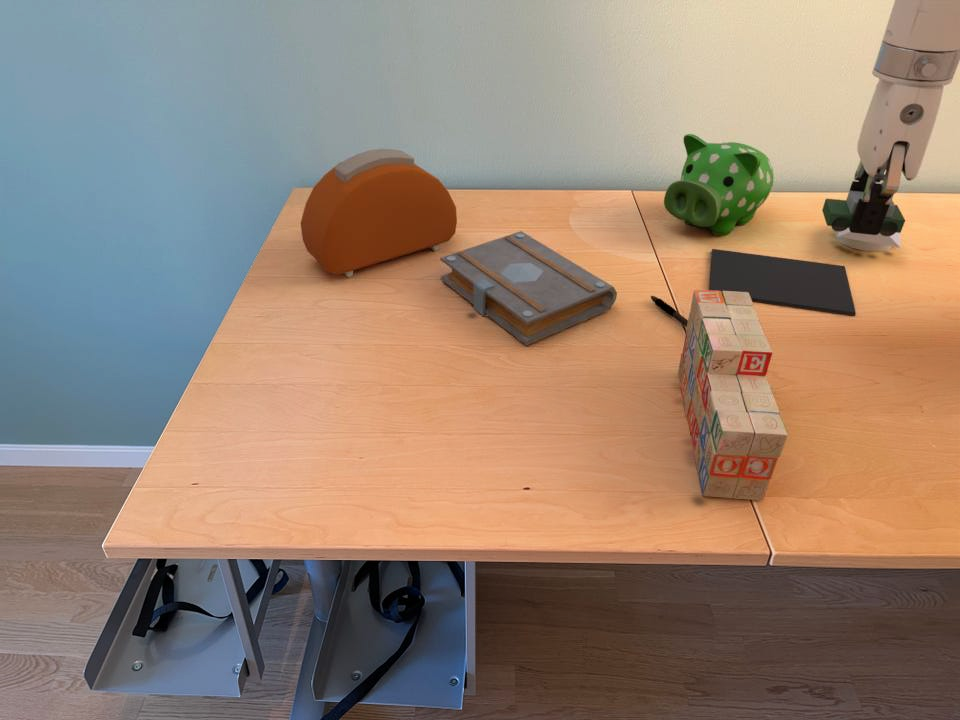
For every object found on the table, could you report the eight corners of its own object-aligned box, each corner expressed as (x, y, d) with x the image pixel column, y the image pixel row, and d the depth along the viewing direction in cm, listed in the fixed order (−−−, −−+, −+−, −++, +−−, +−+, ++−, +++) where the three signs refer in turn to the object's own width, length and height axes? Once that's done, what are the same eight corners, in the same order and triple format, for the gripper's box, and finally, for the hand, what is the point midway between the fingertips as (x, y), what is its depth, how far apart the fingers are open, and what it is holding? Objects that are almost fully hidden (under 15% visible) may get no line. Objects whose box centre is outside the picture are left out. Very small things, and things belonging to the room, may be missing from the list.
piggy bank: (648, 225, 122) (662, 140, 112) (707, 196, 131) (724, 115, 122) (720, 254, 113) (741, 164, 104) (777, 220, 123) (801, 136, 114)
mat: (843, 269, 109) (844, 265, 109) (854, 316, 98) (856, 312, 98) (711, 251, 114) (712, 248, 113) (708, 295, 103) (708, 291, 103)
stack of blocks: (764, 502, 71) (797, 411, 63) (701, 498, 71) (726, 406, 64) (727, 374, 88) (749, 289, 80) (676, 371, 88) (694, 287, 81)
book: (614, 309, 100) (618, 279, 97) (523, 348, 92) (525, 317, 89) (524, 252, 114) (525, 224, 111) (438, 282, 106) (437, 253, 103)
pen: (723, 348, 92) (724, 341, 91) (713, 351, 91) (714, 344, 91) (656, 298, 102) (658, 291, 101) (647, 300, 101) (648, 294, 101)
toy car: (901, 193, 83) (909, 209, 79) (890, 221, 85) (898, 237, 81) (829, 187, 84) (834, 202, 81) (820, 215, 86) (825, 230, 83)
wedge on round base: (893, 267, 110) (893, 232, 119) (908, 228, 105) (907, 195, 115) (831, 255, 113) (836, 223, 122) (844, 217, 109) (848, 186, 118)
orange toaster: (432, 226, 121) (427, 130, 111) (459, 246, 115) (456, 147, 105) (305, 262, 111) (287, 160, 101) (327, 286, 105) (311, 180, 95)
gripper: (979, 87, 65) (908, 260, 76) (936, 45, 78) (881, 198, 89) (891, 82, 67) (834, 251, 78) (864, 42, 80) (819, 192, 91)
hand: (860, 221), depth 83 cm, fingers closed on toy car, 4 cm apart
